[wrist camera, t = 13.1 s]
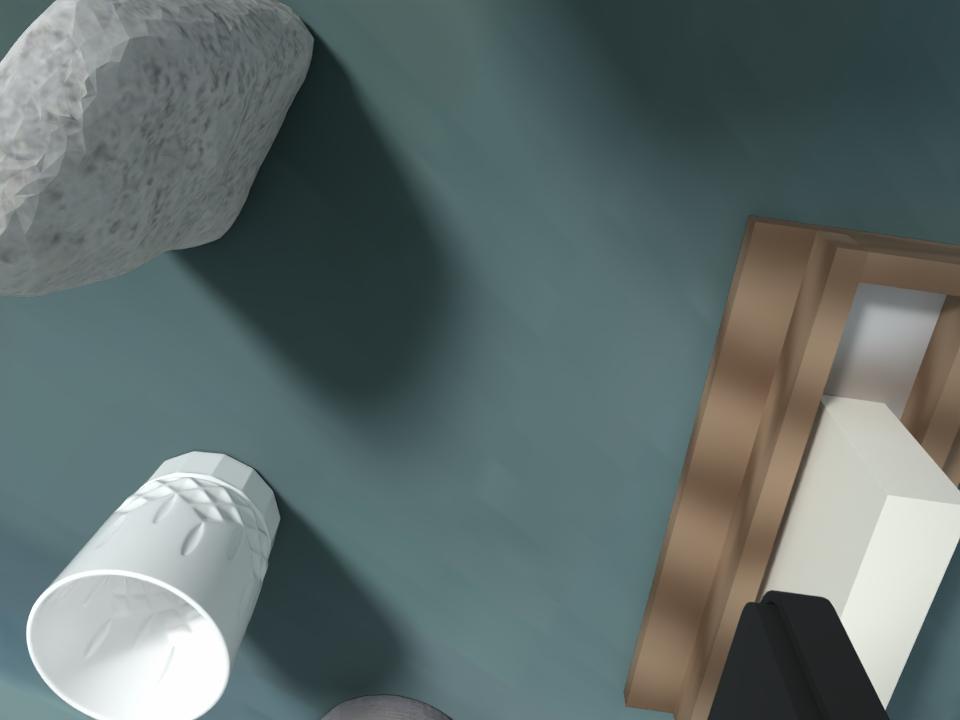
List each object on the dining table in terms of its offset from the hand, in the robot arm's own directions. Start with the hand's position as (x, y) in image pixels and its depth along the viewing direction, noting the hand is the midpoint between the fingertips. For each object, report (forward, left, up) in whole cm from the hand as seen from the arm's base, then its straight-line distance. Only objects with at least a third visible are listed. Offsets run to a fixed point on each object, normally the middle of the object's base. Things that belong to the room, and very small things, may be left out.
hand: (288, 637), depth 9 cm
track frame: (+14, +18, -28) cm, 36 cm away
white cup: (+19, -10, -28) cm, 36 cm away
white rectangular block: (+14, +18, -27) cm, 35 cm away
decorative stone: (0, -10, -28) cm, 30 cm away
